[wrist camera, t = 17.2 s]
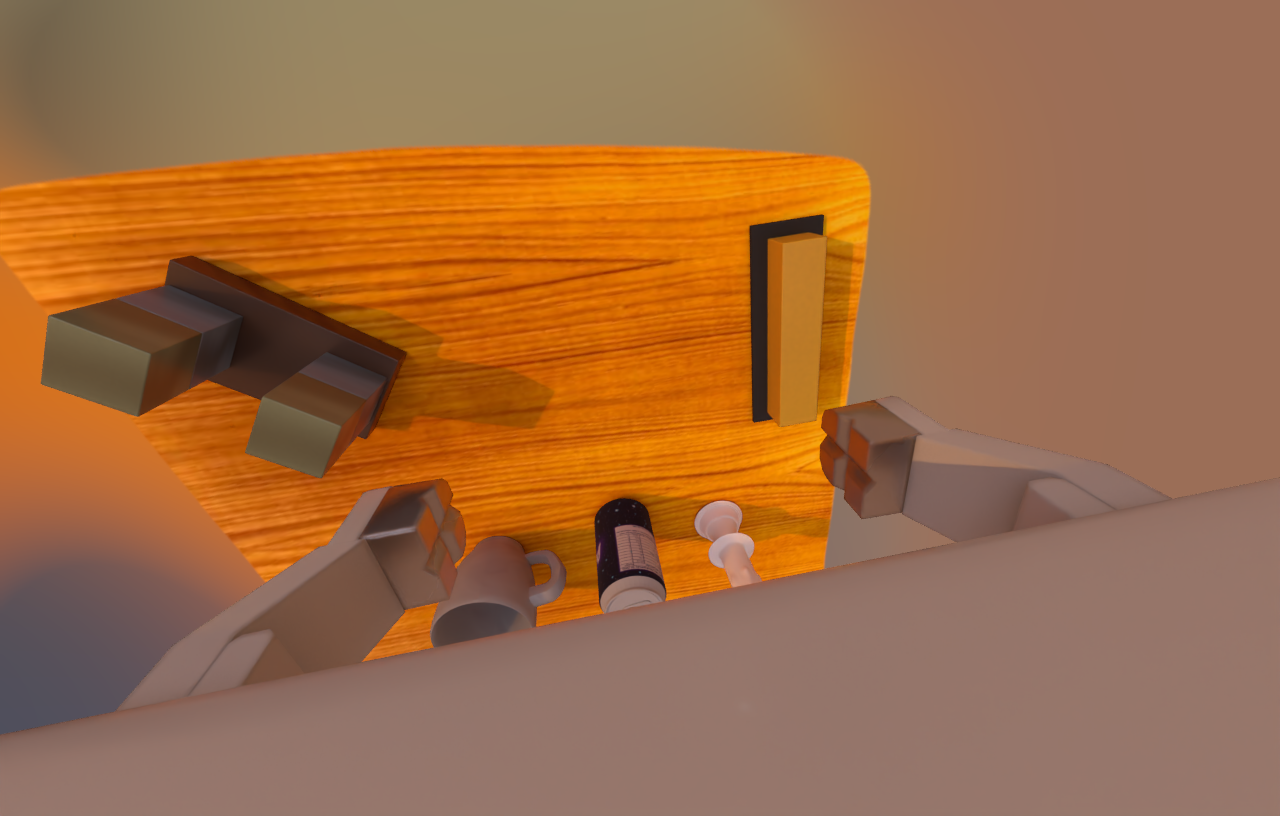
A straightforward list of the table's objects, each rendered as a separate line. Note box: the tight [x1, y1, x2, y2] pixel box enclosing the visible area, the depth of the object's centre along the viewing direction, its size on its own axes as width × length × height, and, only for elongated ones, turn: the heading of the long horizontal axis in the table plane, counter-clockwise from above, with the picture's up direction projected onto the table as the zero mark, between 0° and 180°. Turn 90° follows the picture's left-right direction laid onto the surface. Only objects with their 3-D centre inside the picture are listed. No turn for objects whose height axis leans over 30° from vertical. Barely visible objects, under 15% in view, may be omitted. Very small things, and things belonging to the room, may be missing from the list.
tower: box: [41, 256, 407, 478], centre depth 31 cm, size 8×15×10 cm, turn 58°
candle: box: [695, 501, 762, 588], centre depth 44 cm, size 5×5×12 cm
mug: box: [430, 536, 566, 647], centre depth 43 cm, size 12×9×10 cm
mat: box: [750, 215, 824, 423], centre depth 40 cm, size 18×6×1 cm, turn 7°
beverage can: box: [595, 498, 666, 613], centre depth 42 cm, size 6×6×12 cm
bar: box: [767, 232, 827, 427], centre depth 39 cm, size 4×16×3 cm, turn 8°
